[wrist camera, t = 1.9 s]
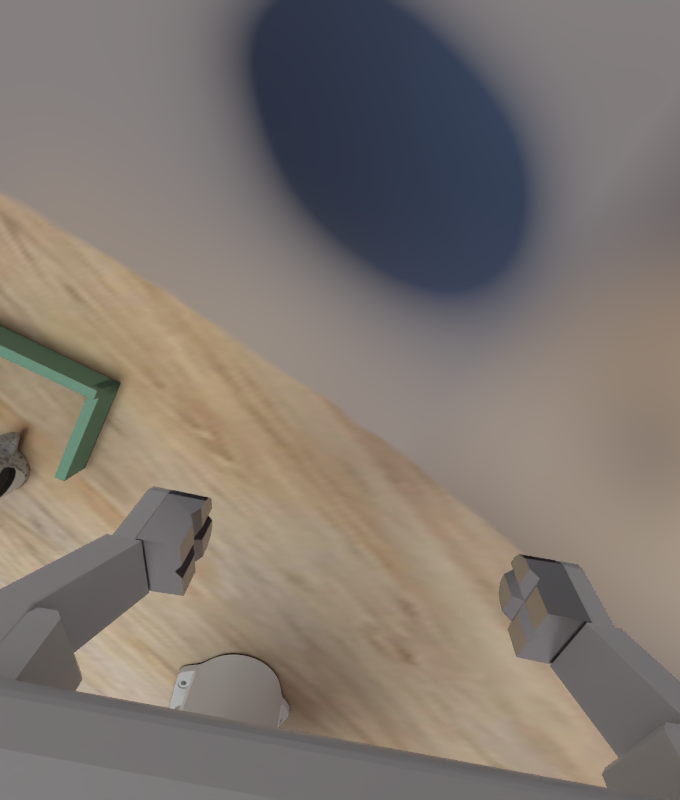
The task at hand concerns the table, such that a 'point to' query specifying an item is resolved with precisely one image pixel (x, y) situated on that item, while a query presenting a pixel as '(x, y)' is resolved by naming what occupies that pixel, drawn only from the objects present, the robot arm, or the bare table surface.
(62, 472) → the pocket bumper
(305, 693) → the table surface
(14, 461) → the mug
